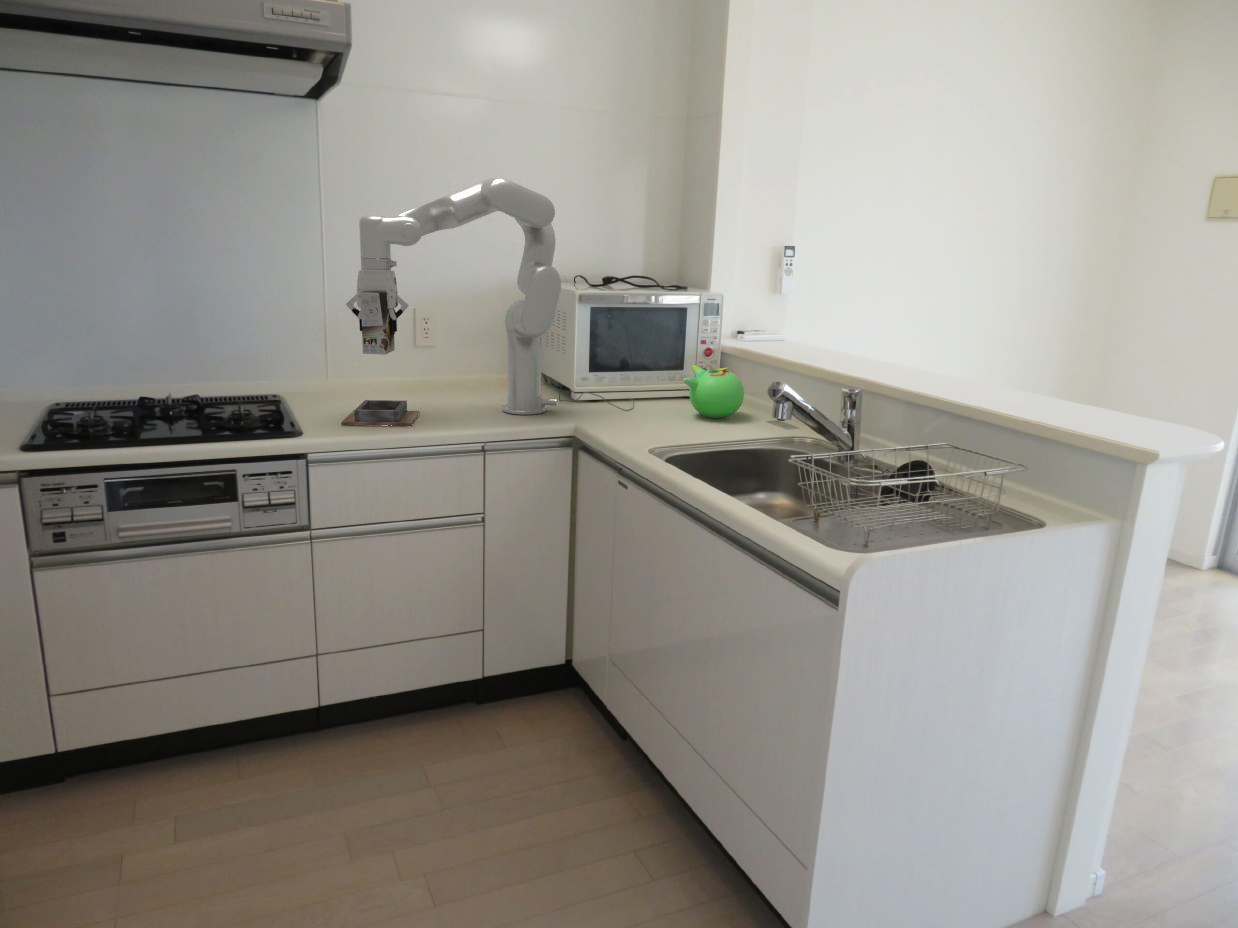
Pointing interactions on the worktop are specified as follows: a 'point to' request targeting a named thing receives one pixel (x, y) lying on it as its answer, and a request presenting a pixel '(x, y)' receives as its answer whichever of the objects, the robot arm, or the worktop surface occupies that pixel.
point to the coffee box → (376, 323)
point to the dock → (381, 414)
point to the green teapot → (715, 392)
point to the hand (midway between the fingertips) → (378, 333)
